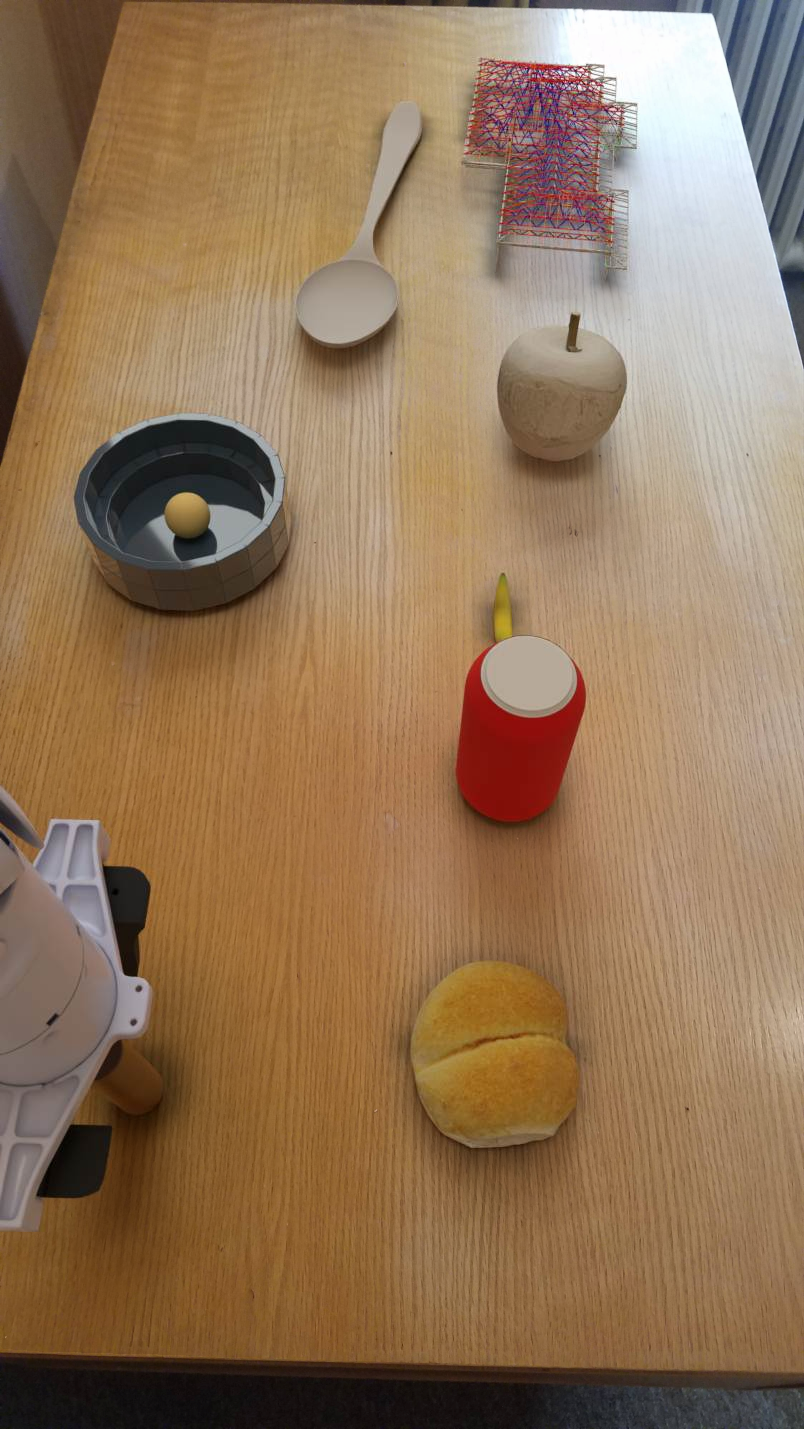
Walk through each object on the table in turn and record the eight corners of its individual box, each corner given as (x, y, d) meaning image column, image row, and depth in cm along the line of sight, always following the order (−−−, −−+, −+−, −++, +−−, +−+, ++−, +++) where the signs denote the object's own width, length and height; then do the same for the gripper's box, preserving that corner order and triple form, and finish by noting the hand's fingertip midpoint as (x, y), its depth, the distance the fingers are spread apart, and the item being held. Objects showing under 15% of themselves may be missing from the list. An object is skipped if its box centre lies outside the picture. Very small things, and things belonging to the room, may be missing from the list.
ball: (166, 547, 68) (157, 517, 66) (172, 512, 70) (163, 482, 67) (210, 548, 68) (203, 518, 66) (216, 514, 70) (209, 483, 67)
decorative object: (513, 495, 72) (529, 385, 63) (476, 410, 76) (486, 295, 67) (630, 471, 73) (661, 359, 64) (587, 388, 77) (610, 273, 69)
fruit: (492, 586, 68) (496, 557, 65) (509, 586, 68) (514, 558, 65) (494, 675, 64) (498, 648, 62) (512, 675, 64) (517, 648, 62)
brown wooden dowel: (112, 1114, 51) (61, 1079, 43) (120, 1064, 52) (72, 1022, 44) (160, 1116, 51) (117, 1081, 43) (167, 1066, 52) (127, 1024, 44)
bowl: (77, 615, 66) (55, 567, 62) (112, 463, 73) (95, 410, 69) (282, 620, 66) (274, 572, 62) (298, 467, 73) (292, 415, 69)
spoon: (381, 376, 77) (382, 348, 75) (280, 362, 78) (278, 333, 76) (449, 134, 96) (451, 105, 94) (366, 124, 97) (366, 95, 94)
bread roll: (551, 961, 55) (562, 937, 52) (586, 1137, 51) (600, 1125, 47) (400, 978, 54) (400, 956, 51) (421, 1158, 50) (423, 1147, 47)
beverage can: (524, 721, 63) (549, 604, 52) (578, 802, 60) (616, 696, 49) (436, 761, 61) (444, 649, 51) (487, 846, 58) (507, 747, 48)
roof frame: (629, 294, 83) (643, 236, 78) (445, 278, 84) (447, 220, 79) (634, 92, 98) (645, 33, 93) (477, 80, 99) (481, 21, 94)
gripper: (75, 1220, 29) (168, 1246, 41) (152, 770, 37) (212, 901, 48) (-169, 1213, 29) (-7, 1240, 41) (-44, 765, 37) (64, 897, 48)
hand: (101, 1057), depth 45 cm, fingers open, 7 cm apart
